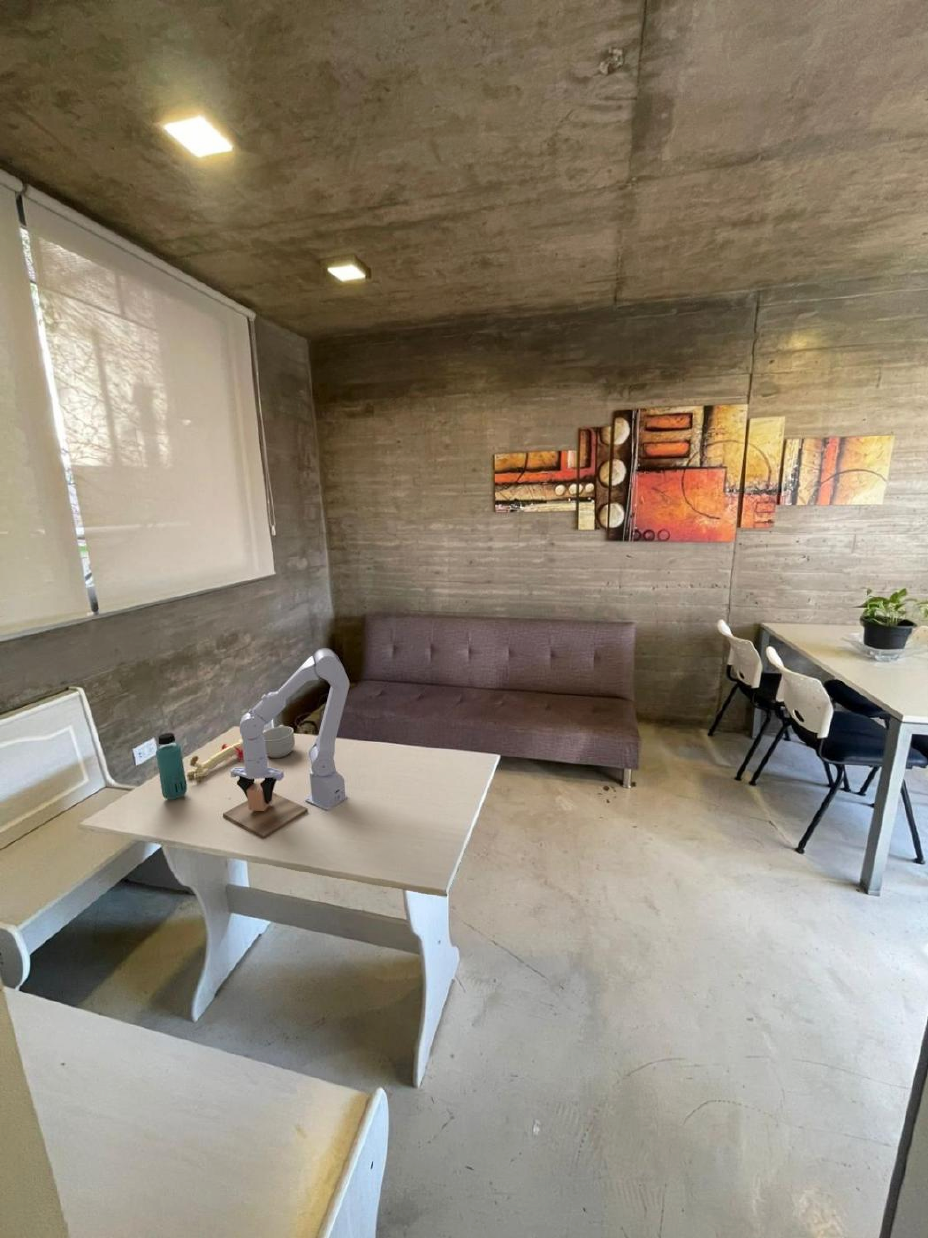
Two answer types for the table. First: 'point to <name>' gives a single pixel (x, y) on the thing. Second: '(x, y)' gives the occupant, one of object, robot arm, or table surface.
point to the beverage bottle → (171, 767)
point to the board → (266, 816)
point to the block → (256, 798)
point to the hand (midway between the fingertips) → (260, 801)
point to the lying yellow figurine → (214, 760)
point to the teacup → (279, 741)
